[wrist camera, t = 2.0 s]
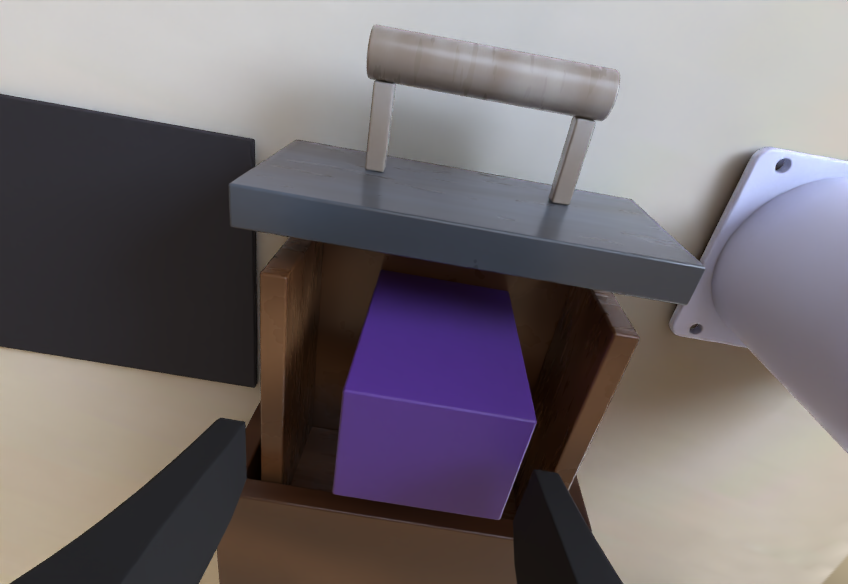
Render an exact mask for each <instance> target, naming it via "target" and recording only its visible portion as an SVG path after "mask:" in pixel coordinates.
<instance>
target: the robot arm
mask: <svg viewBox="0 0 848 584" xmlns="http://www.w3.org/2000/svg"><path fill="white" fill-rule="evenodd" d="M781 159H784V164H783V166H782V167H781V168H780V169H778V170H775V165H776V164H777V162H778V161H779V160H781ZM700 262H701V263H702V264H703V265H704V266H705V271H704V273H703V275H702V277H701V279H700V281H699V283H698V285H697V287H696V289H695V291H694V293H693V295H692V297H691V299H690V301H689V303H688V304H687V305H681V304H678V305H677V307H676V309H675V311H674V313H673V315H672V317H671V320H670V322H669V327H670V329H671V330H672V332H673V333H674V334H675V335H678V336H682V337H688V338H693V339H699V340H705V341H711V342H717V343H723V344H729V345H734V346H740V347H746V348H748V349H749V350H750V351H751V352H752V353H753V354H754V355H755V356H756V357H757V358H758V359H759V360H760V361H761V362H762V363H763V364H764V366H765V367H766V368H767V369H768V370H769V371H770V372H771V373H772V374H773V375H774V376H775V377H776V378H777V379H778V380H779V381H780V382H781V384H782V385H783V386H784V387H785V388H786V389H787V390H788V391H789V392H790V393H791V394H792V395H793V396H794V397H795V398H796V399H797V400H798V402H799V403H800V404H801V405H802V406H803V407H804V408H805V409H806V410H807V411H808V412H809V413H810V414H811V415H812V416H813V417H814V418H815V420H816V421H817V422H818V423H819V424H820V425H821V426H822V427H823V428H824V429H825V430H826V431H827V432H828V433H829V434H830V435H831V436H832V438H833V439H834V440H835V441H836V442H837V443H838V444H839V445H840V446H841V447H842V448H843V449H844V450H845V451H846V452H847V453H848V161H844V160H839V159H833V158H828V157H822V156H817V155H812V154H806V153H801V152H795V151H790V150H784V149H779V148H773V147H764V148H762V149H759V150H758V151H756V152H755V153H754V154H753V156H752V157H751V158H750V160H749V162H748V164H747V166H746V168H745V170H744V172H743V174H742V176H741V178H740V180H739V182H738V184H737V186H736V188H735V190H734V192H733V194H732V197H731V199H730V201H729V203H728V205H727V207H726V209H725V211H724V213H723V215H722V217H721V219H720V221H719V223H718V225H717V227H716V229H715V231H714V233H713V235H712V237H711V239H710V241H709V243H708V245H707V247H706V249H705V251H704V253H703V255H702V257H701V259H700ZM694 324H698V325H697V327H696V328H694V329H690V327H691V326H692V325H694ZM246 479H247V468H246V429H245V422H243V421H237V420H231V419H225V418H219V419H218V420H216V421H215V422H214V423H213V424H212V425H211V426H210V427H209V428H208V429H207V430H206V431H204V432H203V433H202V434H201V435H200V436H199V437H198V438H197V439H196V440H195V441H194V442H193V443H192V444H191V445H190V446H188V447H187V448H186V449H185V450H184V451H183V452H182V453H181V454H180V455H179V456H177V457H176V458H175V459H174V460H173V461H172V462H171V463H170V464H168V465H167V466H166V467H165V468H164V469H163V470H161V471H160V472H159V473H158V474H157V475H156V476H155V477H153V478H152V479H151V480H150V481H149V482H148V483H146V484H145V485H144V486H143V487H142V488H141V489H139V490H138V491H137V492H136V493H134V494H133V495H132V496H131V497H129V498H128V499H127V500H126V501H124V502H123V503H122V504H121V505H119V506H118V507H117V508H116V509H114V510H113V511H112V512H111V513H109V514H108V515H107V516H106V517H104V518H103V519H102V520H100V521H99V522H98V523H96V524H95V525H94V526H92V527H91V528H90V529H88V530H87V531H86V532H84V533H83V534H82V535H80V536H79V537H78V538H76V539H75V540H73V541H72V542H71V543H69V544H68V545H66V546H65V547H63V548H62V549H61V550H59V551H58V552H56V553H55V554H54V555H52V556H51V557H49V558H48V559H46V560H45V561H43V562H42V563H40V564H39V565H37V566H36V567H34V568H33V569H31V570H30V571H28V572H27V573H25V574H24V575H22V576H20V577H19V578H17V579H16V580H14V581H13V582H11V583H10V584H199V582H200V580H201V578H202V576H203V574H204V572H205V570H206V568H207V566H208V565H209V563H210V561H211V559H212V557H213V555H214V553H215V551H216V549H217V547H218V545H219V543H220V541H221V539H222V537H223V535H224V533H225V531H226V529H227V527H228V525H229V523H230V521H231V519H232V516H233V513H234V511H235V508H236V506H237V503H238V501H239V498H240V495H241V493H242V490H243V487H244V484H245V482H246ZM513 544H514V565H515V572H516V580H517V584H623V583H622V581H621V580H620V578H619V576H618V575H617V573H616V572H615V570H614V569H613V567H612V565H611V564H610V562H609V560H608V559H607V557H606V556H605V554H604V552H603V551H602V549H601V547H600V546H599V544H598V542H597V541H596V539H595V537H594V536H593V534H592V532H591V530H590V529H589V527H588V525H587V523H586V522H585V520H584V518H583V516H582V515H581V513H580V511H579V509H578V508H577V506H576V504H575V502H574V500H573V498H572V497H571V495H570V493H569V491H568V489H567V488H566V486H565V484H564V482H563V480H562V478H561V477H560V475H559V474H558V473H554V472H548V471H542V470H536V469H534V470H533V473H532V475H531V478H530V480H529V483H528V485H527V488H526V490H525V492H524V495H523V497H522V500H521V502H520V505H519V507H518V510H517V512H516V515H515V517H514V520H513Z"/></svg>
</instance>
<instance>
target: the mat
mask: <svg viewBox="0 0 848 584" xmlns="http://www.w3.org/2000/svg"><path fill="white" fill-rule="evenodd" d="M254 167H255V140H254V139H250V138H244V137H238V136H233V135H227V134H222V133H216V132H210V131H205V130H199V129H194V128H188V127H182V126H177V125H171V124H166V123H160V122H154V121H149V120H143V119H138V118H132V117H126V116H121V115H115V114H110V113H104V112H98V111H93V110H87V109H82V108H76V107H70V106H65V105H59V104H54V103H48V102H42V101H37V100H31V99H26V98H20V97H14V96H9V95H3V94H0V346H1V347H7V348H13V349H20V350H26V351H32V352H38V353H44V354H50V355H56V356H63V357H69V358H75V359H81V360H87V361H93V362H99V363H106V364H112V365H118V366H124V367H130V368H136V369H142V370H149V371H155V372H161V373H167V374H173V375H179V376H185V377H192V378H198V379H204V380H210V381H216V382H222V383H228V384H235V385H241V386H247V387H253V388H255V386H256V384H257V306H256V231H252V230H246V229H241V228H235V227H231V226H230V210H229V183H231V182H232V181H234V180H235V179H237V178H238V177H240V176H241V175H243V174H244V173H246V172H247V171H249V170H251V169H252V168H254Z"/></svg>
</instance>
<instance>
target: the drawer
mask: <svg viewBox="0 0 848 584" xmlns="http://www.w3.org/2000/svg"><path fill="white" fill-rule="evenodd" d="M367 75H368V78H370V79H373V80H376V81H374V85H373V95H372V104H371V114H370V124H369V134H368V143H367V152H364V151H359V150H353V149H347V148H342V147H336V146H331V145H325V144H319V143H314V142H308V141H303V140H295V141H293V142H292V143H290V144H289V145H287V146H286V147H284V148H283V149H281V150H280V151H278V152H276V153H275V154H273V155H272V156H270V157H269V158H267V159H266V160H264V161H263V162H261V163H260V164H258V165H257V166H255V167H254V168H252V169H251V170H249V171H247V172H246V173H244V174H243V175H241V176H240V177H238V178H237V179H235V180H234V181H232V182H231V183H229V210H230V226H231V227H235V228H241V229H246V230H252V231H258V232H264V233H270V234H275V235H281V236H287V237H289V238H288V240H287V241H286V242H285V243H284V244H283V246H282V247H281V248H280V249H279V251H278V252H277V253H276V254H275V255H274V257H273V258H272V259H271V260H270V262H269V263H268V264H267V265H266V267H265V268H264V269H263V270H262V271H261V273H260V366H261V481H267V482H273V483H280V484H286V485H292V486H299V487H305V488H312V489H318V490H324V491H331V492H332V490H333V480H334V470H335V461H336V451H337V441H338V432H339V422H340V412H341V402H342V393H343V388H344V385H345V382H346V379H347V375H348V372H349V369H350V366H351V363H352V359H353V356H354V353H355V350H356V347H357V343H358V340H359V337H360V334H361V331H362V327H363V324H364V321H365V318H366V315H367V312H368V308H369V305H370V302H371V299H372V296H373V292H374V289H375V286H376V283H377V280H378V276H379V273H380V271H381V270H386V271H392V272H398V273H404V274H410V275H416V276H421V277H427V278H433V279H439V280H445V281H451V282H456V283H462V284H468V285H474V286H480V287H486V288H491V289H497V290H503V291H508V292H509V295H510V300H511V304H512V309H513V314H514V318H515V323H516V328H517V332H518V337H519V341H520V346H521V351H522V355H523V360H524V365H525V369H526V374H527V379H528V383H529V388H530V392H531V397H532V402H533V406H534V411H535V416H536V420H537V423H536V426H535V429H534V431H533V434H532V437H531V439H530V442H529V445H528V447H527V450H526V452H525V455H524V458H523V460H522V463H521V466H520V468H519V471H518V473H517V476H516V479H515V481H514V484H513V487H512V489H511V492H510V495H509V497H508V500H507V502H506V505H505V508H504V510H503V513H502V516H501V518H503V519H509V520H514V517H515V515H516V512H517V510H518V507H519V505H520V502H521V500H522V497H523V495H524V492H525V490H526V488H527V485H528V483H529V480H530V478H531V475H532V473H533V470H534V469H536V470H542V471H548V472H554V473H558V474H559V475H560V477H561V478H562V480H563V482H564V484H565V486H566V488H567V489H568V491H569V488H570V486H571V484H572V482H573V480H574V478H575V476H576V473H577V471H578V469H579V467H580V465H581V463H582V461H583V459H584V456H585V454H586V452H587V450H588V448H589V446H590V444H591V441H592V439H593V437H594V435H595V433H596V431H597V429H598V427H599V424H600V422H601V420H602V418H603V416H604V414H605V412H606V410H607V407H608V405H609V403H610V401H611V399H612V397H613V395H614V392H615V390H616V388H617V386H618V384H619V382H620V380H621V378H622V375H623V373H624V371H625V369H626V367H627V365H628V363H629V361H630V358H631V356H632V354H633V352H634V350H635V348H636V346H637V343H638V341H639V335H638V334H637V332H636V331H635V329H634V327H633V326H632V324H631V323H630V321H629V319H628V318H627V316H626V314H625V313H624V311H623V310H622V308H621V306H620V305H619V303H618V302H617V300H616V298H615V297H614V295H613V293H617V294H623V295H629V296H634V297H640V298H646V299H652V300H658V301H663V302H669V303H675V304H681V305H687V304H688V303H689V301H690V299H691V297H692V295H693V293H694V291H695V289H696V287H697V285H698V283H699V281H700V279H701V277H702V275H703V273H704V271H705V266H704V265H703V264H702V263H701V262H700V261H698V260H697V259H696V258H695V257H694V256H693V255H692V254H691V253H690V252H689V251H687V250H686V249H685V248H684V247H683V246H682V245H681V244H680V243H679V242H678V241H677V240H675V239H674V238H673V237H672V236H671V235H670V234H669V233H668V232H667V231H666V230H665V229H663V228H662V227H661V226H660V225H659V224H658V223H657V222H656V221H655V220H654V219H653V218H651V217H650V216H649V215H648V214H647V213H646V212H645V211H644V210H643V209H642V208H641V207H639V206H638V205H637V204H636V203H635V202H634V201H633V200H632V199H627V198H621V197H616V196H610V195H605V194H599V193H593V192H588V191H582V190H577V189H575V186H576V183H577V180H578V177H579V174H580V171H581V168H582V165H583V162H584V159H585V156H586V153H587V150H588V147H589V144H590V140H591V137H592V134H593V131H594V128H595V125H596V122H595V121H594V120H597V121H603V120H605V119H606V118H607V116H608V115H609V113H610V112H611V110H612V108H613V106H614V103H615V101H616V98H617V94H618V90H619V85H620V73H619V71H617V70H616V69H611V68H605V67H600V66H595V65H589V64H584V63H578V62H573V61H568V60H562V59H557V58H552V57H546V56H541V55H536V54H530V53H525V52H520V51H514V50H509V49H504V48H498V47H493V46H488V45H482V44H477V43H472V42H466V41H461V40H456V39H450V38H445V37H440V36H434V35H429V34H423V33H418V32H413V31H407V30H402V29H397V28H391V27H386V26H381V25H374V26H373V27H372V30H371V33H370V38H369V44H368V52H367ZM396 84H400V85H406V86H411V87H417V88H422V89H428V90H433V91H439V92H444V93H449V94H455V95H460V96H466V97H471V98H477V99H482V100H488V101H493V102H498V103H504V104H509V105H515V106H520V107H526V108H531V109H537V110H542V111H547V112H553V113H558V114H564V115H569V116H574V117H573V118H572V121H571V125H570V128H569V131H568V135H567V138H566V141H565V145H564V148H563V151H562V155H561V158H560V161H559V165H558V168H557V171H556V174H555V178H554V181H553V184H552V185H549V184H543V183H537V182H532V181H526V180H521V179H515V178H510V177H504V176H498V175H493V174H487V173H482V172H476V171H470V170H465V169H459V168H454V167H448V166H442V165H437V164H431V163H426V162H420V161H415V160H409V159H403V158H398V157H392V156H387V153H388V145H389V137H390V129H391V121H392V113H393V105H394V97H395V88H396Z"/></svg>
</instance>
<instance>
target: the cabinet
mask: <svg viewBox="0 0 848 584" xmlns="http://www.w3.org/2000/svg"><path fill="white" fill-rule="evenodd" d="M246 468H247V479H246V482H245V484H244V487H243V490H242V493H241V495H240V498H239V501H238V503H237V506H236V508H235V511H234V513H233V516H232V519H231V521H230V523H229V525H228V527H227V529H226V531H225V533H224V535H223V537H222V539H221V541H220V543H219V545H218V547H217V558H218V570H219V582H220V584H517V580H516V572H515V565H514V544H513V520H509V519H503V518H500V520H494V519H488V518H481V517H475V516H469V515H462V514H456V513H449V512H443V511H437V510H430V509H424V508H418V507H411V506H405V505H399V504H392V503H386V502H379V501H373V500H367V499H360V498H354V497H348V496H341V495H335V494H333V492H331V491H324V490H318V489H312V488H305V487H299V486H292V485H286V484H280V483H273V482H267V481H261V401H260V403H259V405H258V406H257V408H256V410H255V412H254V414H253V416H252V418H251V420H250V421H249V423H248V425H247V427H246ZM569 493H570V495H571V497H572V498H573V500H574V502H575V504H576V506H577V508H578V509H579V511H580V513H581V515H582V516H583V518H584V520H585V522H586V523H587V525H588V527H589V529H590V530H591V526H590V522H589V519H588V515H587V512H586V508H585V505H584V501H583V497H582V494H581V490H580V487H579V483H578V479H577V476H575V478H574V480H573V482H572V484H571V486H570V488H569ZM591 532H592V530H591Z"/></svg>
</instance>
